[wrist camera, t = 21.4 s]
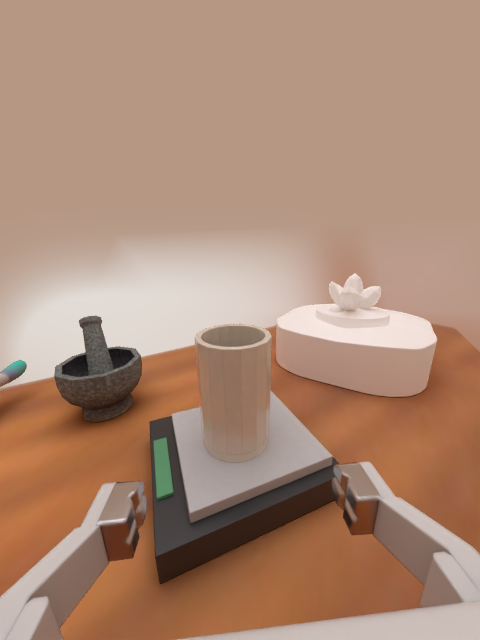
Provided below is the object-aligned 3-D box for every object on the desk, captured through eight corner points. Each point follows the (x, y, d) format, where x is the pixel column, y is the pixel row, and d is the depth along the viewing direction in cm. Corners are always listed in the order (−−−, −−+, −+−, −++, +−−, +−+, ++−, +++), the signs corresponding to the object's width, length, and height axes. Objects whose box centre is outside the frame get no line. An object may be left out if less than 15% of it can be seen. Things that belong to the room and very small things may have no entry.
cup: (212, 473, 18) (205, 354, 16) (196, 423, 24) (188, 329, 21) (281, 448, 21) (285, 341, 18) (252, 407, 26) (251, 321, 24)
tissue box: (433, 411, 30) (463, 285, 26) (260, 366, 43) (260, 277, 39) (419, 347, 51) (434, 270, 46) (304, 329, 64) (307, 268, 59)
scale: (159, 584, 15) (153, 545, 14) (152, 440, 27) (148, 413, 26) (344, 495, 20) (348, 462, 19) (270, 407, 32) (271, 384, 31)
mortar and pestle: (153, 411, 31) (142, 324, 28) (67, 444, 26) (40, 342, 23) (134, 377, 40) (123, 308, 37) (67, 397, 35) (47, 318, 32)
